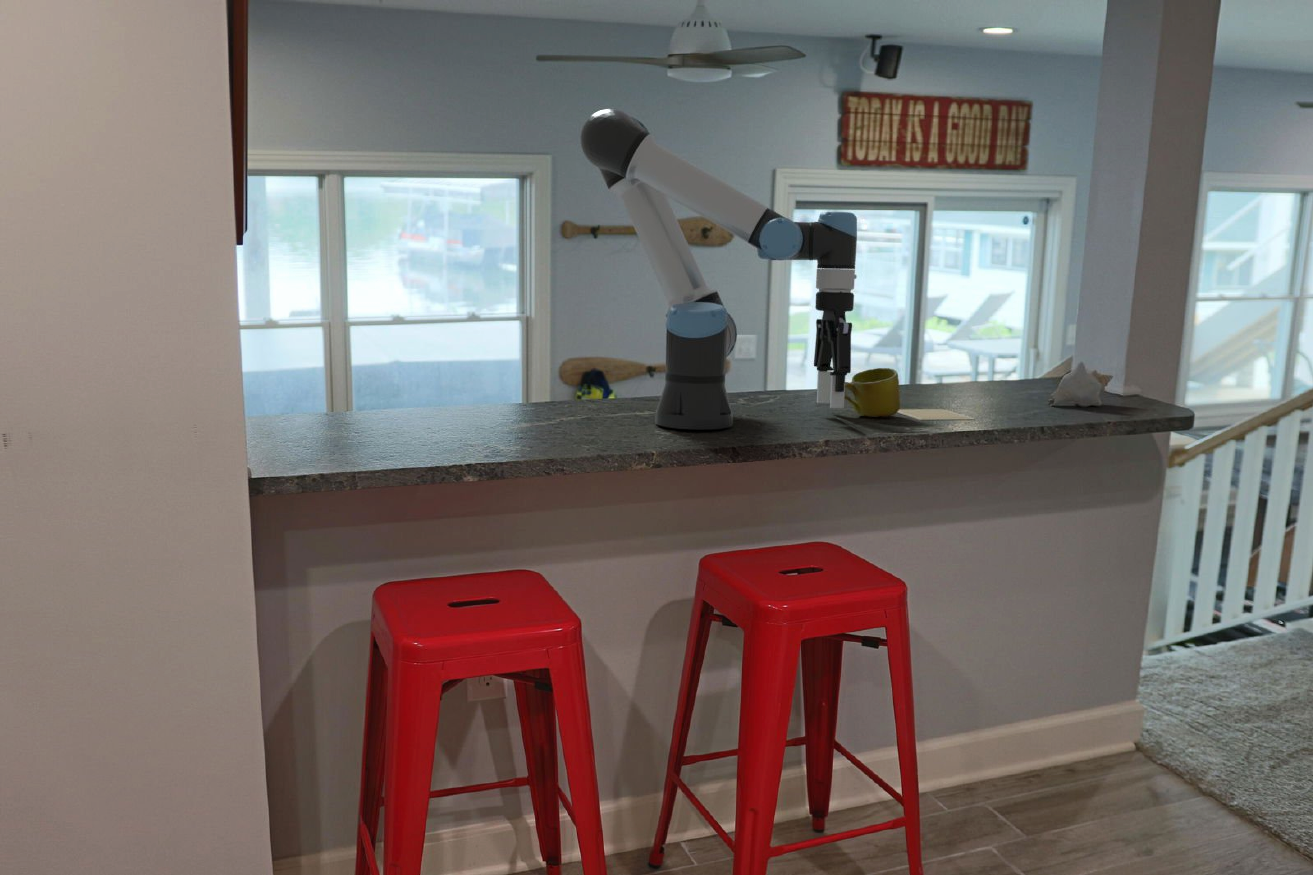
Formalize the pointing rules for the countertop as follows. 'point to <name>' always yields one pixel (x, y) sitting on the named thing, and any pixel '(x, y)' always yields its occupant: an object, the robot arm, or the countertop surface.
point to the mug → (875, 392)
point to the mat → (934, 414)
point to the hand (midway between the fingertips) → (830, 405)
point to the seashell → (1081, 387)
